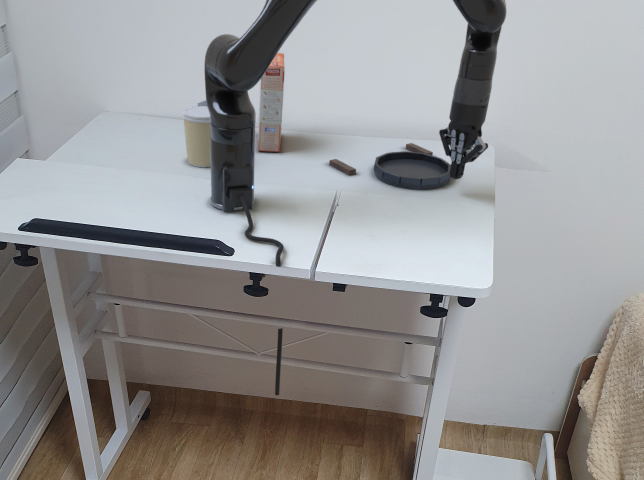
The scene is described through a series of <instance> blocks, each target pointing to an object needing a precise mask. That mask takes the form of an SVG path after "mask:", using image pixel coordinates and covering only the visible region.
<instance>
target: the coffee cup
mask: <svg viewBox="0 0 644 480" xmlns="http://www.w3.org/2000/svg"><path fill="white" fill-rule="evenodd" d="M182 118H183V127H184V139H185V147H186V157H187V162H188V164H189V165H191V166H193V167H197V168H209V167H210V168H211V151H210V114H209V110H208V107H207V106H198V105H196V106H195V105H194V106H190V107H187V108H185V110H183V113H182Z"/></svg>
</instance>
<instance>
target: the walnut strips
mask: <svg viewBox="0 0 644 480" xmlns="http://www.w3.org/2000/svg"><path fill="white" fill-rule="evenodd" d="M405 149H406V150H408V151H409V152H418V153H424V154H425V153H426V154H429V155H432V156H434V152H433V151H431V150H430V149H427V148H424V147H422V146H419V145H418V144H415V143H413V142H410V143H406V144H405ZM328 166H331V167H332V168H334V169H336V170H338V171H340V172H342V173H344V174H346V175H347V176H353V175H357V168H355V167H353V166H351V165H349V164H347V163H346V162H344V161H341V160H339V159H337V158H333V159H329V162H328Z"/></svg>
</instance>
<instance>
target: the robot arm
mask: <svg viewBox="0 0 644 480" xmlns="http://www.w3.org/2000/svg"><path fill="white" fill-rule="evenodd" d="M317 2H318V0H265V3H264V5H263V7H262V9H261V11H260V13H259V15H258V16H257V18H256V19H255V20H254V22H252V24H251V25H250V27H249V28H248V29H247V30H246V31H245V32H244V33H243V34H242V35H241V36H240V37H239V36H237V35H234V34H229V33H224V34H219V35H218V36H216V37H215V38H213V39H212V40H211V41H210V43H209V44H208V45H207V48H206V51H205V55H204V66H203V67H204V68H203V69H204V87H205V101H206V103H207V107H208V110H209V114H210V151H211V167H210V204H211V205H212V206H213V207H214V208H216V209H218V210H221V211H223V212H224V213H230V212H241V211H244V213H245V216H246V219H247V223H248V226H247V229H246V230H244V236H245V237H246V239H248V240H250V241H254V242H258V243H259V242H261V243H267V244H272V245H275V246H276V247H278V248H277V250H276V253H275V266H276V267H277V268H281V266H282V265H281V264H282V263H281V255H282V253H283V251H284V249H285V246H284V243H282V242H281V241H279V240H277V239H276V238H275V239H274V238H270V237H262V236H255V235H252V234H250V233H251V232H252V231H253V229H254V222H253V218H252V214H251V212H250V210H253V206H254V204H255V157H256V155H255V153H256V152H255V151H256V121H257V120H256V119H257V118H256V114H257V113H256V109H255V107H254V105H253V103H252V100H251V99H250V96H249V95H250V94H249V91H250V90H252V89H254V87H255V86H256V85H258V83H260V79H261V78H262V76H263V75H264V73H265V72H266V70H267V69H268V67H269V66H270V64H271V62H272V61H273V59H274V58H275V56H276V55H277V53H279V52H280V50H281V48H283V45H284V44H285V42H286V41H287V39H288V38H289V37H290V36H291V35H292V34H293V32H294V31H295V29H297V27H298V25H299V24H300V23H301V22H302V20H303V19H304V18H305V16H306V15H307V13H308V12H309V11H310V10H311V8H312V7H313V6H314V5H315V4H316V3H317ZM452 2H453V4H454V5H455V6H456V8H457V10H458V11H459V12H460V14H461V16H462V17H463V19H464V20H465V21H466V22H467V26H466V34H465V41H464V42H465V43H464V46H463V50H462V53H461V57H460V62H459V67H458V73H457V77H456V81H455V84H454V87H453V88H454V89H453V95H452V99H451V106H450V111H449V120H450V122H449V123H448V126H447V127H446V128H443V129H442V128H441V129H439V131H438V135H439V137H440V140H441V143H442V147H443V150H444V153H445V156H446V157H449V158H450V161H451V162H450V165H451V168H450V179H452V180H459V179H461V178H463V177H464V175H465V174H464V173H465V169H466V164H468V163H473V162H475V161H476V160H477V159H478V158H479V157H480V156H481V155H482V154H483V153H484V152H485V151H486V150H487V149H488V148H489V143H487V142H484V141H483V139H482V136H483V131H482V130H483V129H482V127H483V125H484V124H485V122H486V118H487V114H488V108H489V104H490V100H491V99H490V98H491V95H492V94H491V93H492V88H493V77H494V74H495V69H496V63H497V57H498V56H497V55H498V44H499V40H500V36H501V32H502V28H503V25H504V24H505V21H506V17H507V13H508V12H507V3H506V0H452ZM283 330H284V328H278V329H277V347H276V361H275V362H276V365H275V384H274V395H275V396H280V390H281V389H280V386H281V385H280V384H281V368H282V354H283V353H282V350H283V349H282V348H283V334H284V333H283Z"/></svg>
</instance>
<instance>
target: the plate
mask: <svg viewBox="0 0 644 480" xmlns="http://www.w3.org/2000/svg"><path fill="white" fill-rule="evenodd" d="M450 168H451V163H449V162H448V161H446V160H445V159H443V158H442V157H439V156H435V155H429V154H426V153H425V154H424V153H418V152H412V151H409V150H408V151H404V150H403V151H402V150H401V151H389V152H386V153H383V154H381V155H378V156H376V157H375V160H374V164H373V175H374V177H375V178H377V180H378V181H381V182H382V183H384V184H386V185H390V186H393V187H397V188H401V189H407V190H433V189H438V188H441V187H443V186H445V185H447V184H448V183H449V182H450V179H451V177H450Z"/></svg>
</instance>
